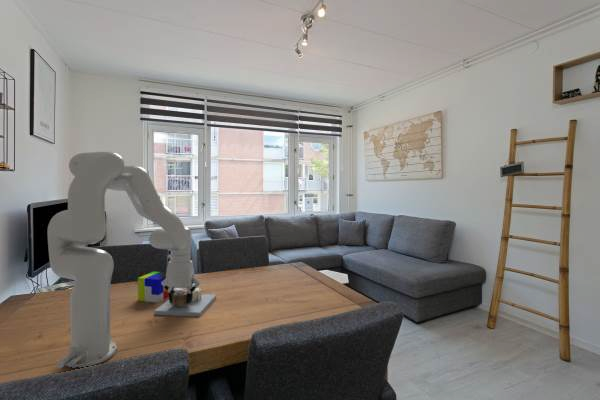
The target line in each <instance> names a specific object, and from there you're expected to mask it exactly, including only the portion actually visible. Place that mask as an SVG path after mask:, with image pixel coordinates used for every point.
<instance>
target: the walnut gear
mask: <svg viewBox="0 0 600 400" xmlns="http://www.w3.org/2000/svg"><path fill="white" fill-rule="evenodd" d="M187 293H188V291H185V290H183V294H181V295H179V292H174V294H172V304H173V306H176V305H177V306H182V305H187V304H188V303H187Z"/></svg>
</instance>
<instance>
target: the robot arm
mask: <svg viewBox="0 0 600 400" xmlns="http://www.w3.org/2000/svg"><path fill="white" fill-rule="evenodd" d="M68 169H69V171H70V173H71V174H72V176H74V177H73V178H72V181H71V182H70V184H69V187H68V192H67V209H64V210H62V211H59V212H57V213H56V214H55V215H53V216H52V217H51V219H50V220H49V223H48V225H47V245H48V246H47V247H48V258H49V265H50V269H51V270H52V272H53V273H54V275H56V276H58V277H59V278H63V279H68V280H73V281H74V285H73V287H72V291H71V293H70V297H69V315H70V318H69V319H70V320H69V321H70V325H69V327H70V347H69V348H68V350H67V354H66V355H65V356H64V357H63V358H61V359H60V360H58V361H57V362H56V367H57V368H58V369H62V368H64V367H65V366H66V367H67V368H71V367H72V369H77V368H76V367H79V368H78V369H80V368H81V367H82V366H84V367H83V368H87V367H86V366H88V367H91V366H95V365H98V364H101V363H103V362H105V361H107V360H108V359H111V357H113V356H114V355H115V354H116V352H117V349H118V347H117V344H116V343H115V342H114V341H112V340H111V338H112V337H111V336H112V335H111V334H112V333H111V282H112V276H113V272H114V267H115V266H114V265H115V264H114V263H115V262H114V259H113V257H112V255H111V254H110V253H109V252H108V251H106V250H103V249H101V248H95V247H88V246H85V245H94V244H97V243H99V242H101V241H103V239H104V238H105V236H106V233H107V232H106V231H107V221H106V220H107V219H106V206H105V204H106V203H105V202H106V201H105V200H106V192H107V191H108V190H112V191H116V192H117V191H119V192H120V191H121V192H126V194H127V195H128V198H129V200H130V201H131V203H132V206H133V207H134V209H135V211H136V212H137V214H138V215H139V216H141V217H142V218H144V219H146V220H148V221H150V222H152V223H154V224H156V225H158V226H159V227H160V228H159V229H155V230H153V231H151V233H150V235H149V237H148V241H149V244H150V245H151V246H152V247H153V248H155V249H159V250H168V251H169V250H170V254H168V255H166V256H167V259H169V261H168V264H167V267H166V272H165V273H166V278H165V279H164V280H163V281H162V282H161V284H162V285H163V286H164V288H165V289H166V290H167V292H168V293H169V297H168V300H169V302H170V303H171V302H172V294H174V292H175V291H174V289H175V288H182V289H184V288H186V290H187V291H188V293H187V303H190V302H191V301H192V298H193V291H194V290H195V289H196V288H199V286H200V284H201V282H200V281H199V280H198V279H197V278H196V277H195V269H194V263H193V260H191V258H192V256H191V254H192V253H191V252H192V251H191V250H192V248H191V247H192V242H191V241H192V239H191V237H192V233H191V232H192V231H191V228H190V227H185V225H184V223H183V222H182V220H181V219H180V217H178V216H177V214H176V213H175V212H173V211H172V210H171V209H170V208H169V207H168V206H167V205H165V204H164V203H163V202H162V200H161V197H160V196H159V193H158V192H157V190H156V188H155V185H154V183H153V181H152V179H151V177H150V175H149V173H148V171H147V170H146V169H145V168H144V167H141V166H138V165H125V161H124V158H123V157H122V156H121V155H120V154H118V153H116V152H114V151H113V152H111V151H93V152H80V153H77V154H75V155H73V156H72V157H71V159H70V160H69V163H68ZM192 284H195V285H194V286H193V287H192ZM81 369H82V368H81Z"/></svg>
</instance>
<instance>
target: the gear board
mask: <svg viewBox="0 0 600 400" xmlns="http://www.w3.org/2000/svg"><path fill="white" fill-rule="evenodd" d="M194 285H195V283H194V284H192V287H193V286H194ZM174 291H175V292H179V295H181V294H183V291H187V289H186V290H184V289H183V288H177V287H174ZM216 299H217V294H206V293H205V294H203V293H202V288H200V287H197V288H196V289H195V290H194V291H193V298H192V301H191V302H190V303H188V304H187V305H182V306H177V305H176V306H173V304H172V302H171V303H170V302H169V299H168V300H166V301H165V302H164V303H163V304H161V305H160V306H159V307H157V308H156V309H155V310H153V312H154V313H153V314H154V315H155V316H156V315H157V316H176V317H178V316H180V317H200V316H202V314H203V313H204V312H206V311H207V309H208V308H209V307H210V306H211V304H212V303H213V302H214V301H215V300H216Z"/></svg>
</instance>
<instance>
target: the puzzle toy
mask: <svg viewBox="0 0 600 400" xmlns="http://www.w3.org/2000/svg"><path fill="white" fill-rule="evenodd" d="M166 273H167V272H164V271H162V272H161V271H151V272H149V273H147V274H143V275H142V276H139V277H138V278H137V301H141V302H150V303H160V302H162V301H164V300H166V299H167V298H169V293H168V292H167V290H166V289H165V288H164V286H163V285H162V284H161V282H162V281H163V280H164V279H165V278H166Z"/></svg>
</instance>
